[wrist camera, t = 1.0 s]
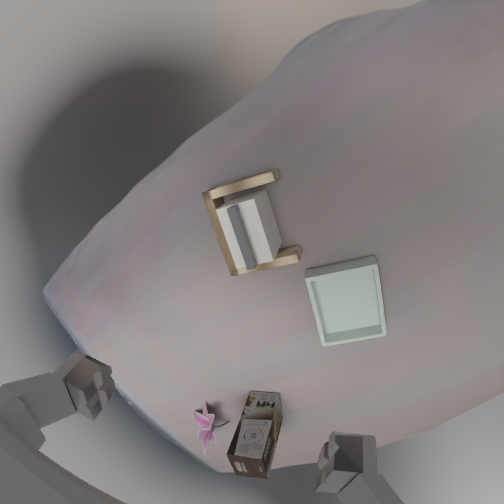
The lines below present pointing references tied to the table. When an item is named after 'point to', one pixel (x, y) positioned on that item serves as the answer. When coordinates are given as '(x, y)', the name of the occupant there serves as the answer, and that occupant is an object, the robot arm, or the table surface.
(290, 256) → the bay
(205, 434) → the lily
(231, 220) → the white block
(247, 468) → the coffee box
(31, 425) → the robot arm
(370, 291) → the tray
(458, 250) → the table surface
